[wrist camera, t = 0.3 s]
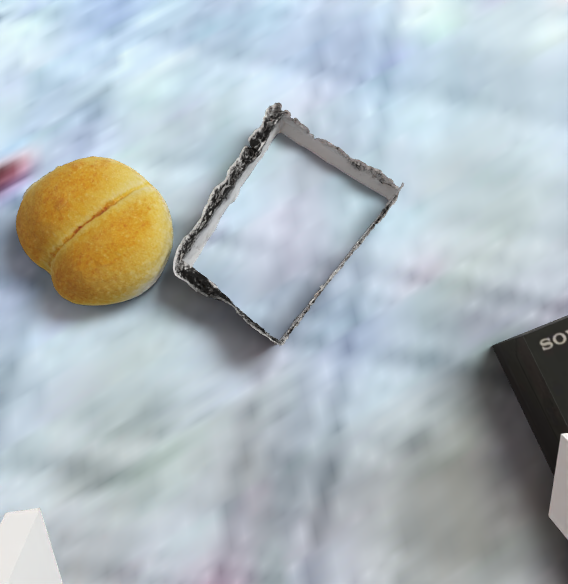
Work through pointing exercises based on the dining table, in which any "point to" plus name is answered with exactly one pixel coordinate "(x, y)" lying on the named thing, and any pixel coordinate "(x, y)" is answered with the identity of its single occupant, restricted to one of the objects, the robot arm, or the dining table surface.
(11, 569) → the robot arm
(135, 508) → the dining table surface
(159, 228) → the bread roll
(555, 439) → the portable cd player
